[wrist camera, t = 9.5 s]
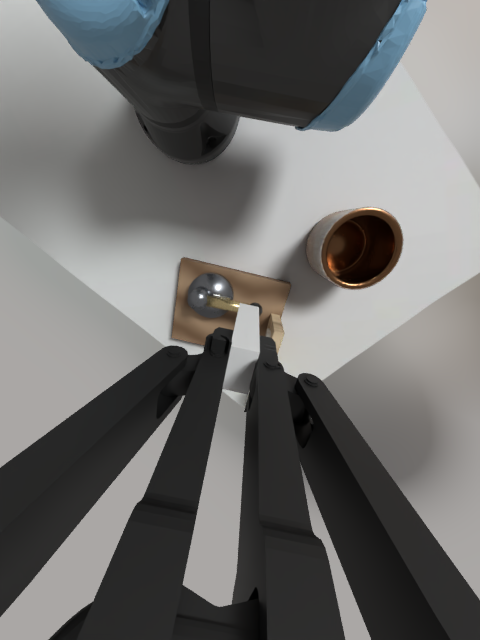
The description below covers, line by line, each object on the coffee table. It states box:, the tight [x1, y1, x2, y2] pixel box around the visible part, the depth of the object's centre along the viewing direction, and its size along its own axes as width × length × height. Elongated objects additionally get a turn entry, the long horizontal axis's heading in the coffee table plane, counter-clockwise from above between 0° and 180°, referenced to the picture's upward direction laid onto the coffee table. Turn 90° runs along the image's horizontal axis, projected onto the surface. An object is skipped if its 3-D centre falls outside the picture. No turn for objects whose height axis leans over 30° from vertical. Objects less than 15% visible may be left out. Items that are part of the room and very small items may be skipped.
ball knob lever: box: [187, 272, 263, 318], centre depth 39 cm, size 13×8×6 cm, turn 80°
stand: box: [172, 257, 291, 354], centre depth 40 cm, size 16×20×10 cm
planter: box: [306, 207, 403, 290], centre depth 35 cm, size 11×11×10 cm
